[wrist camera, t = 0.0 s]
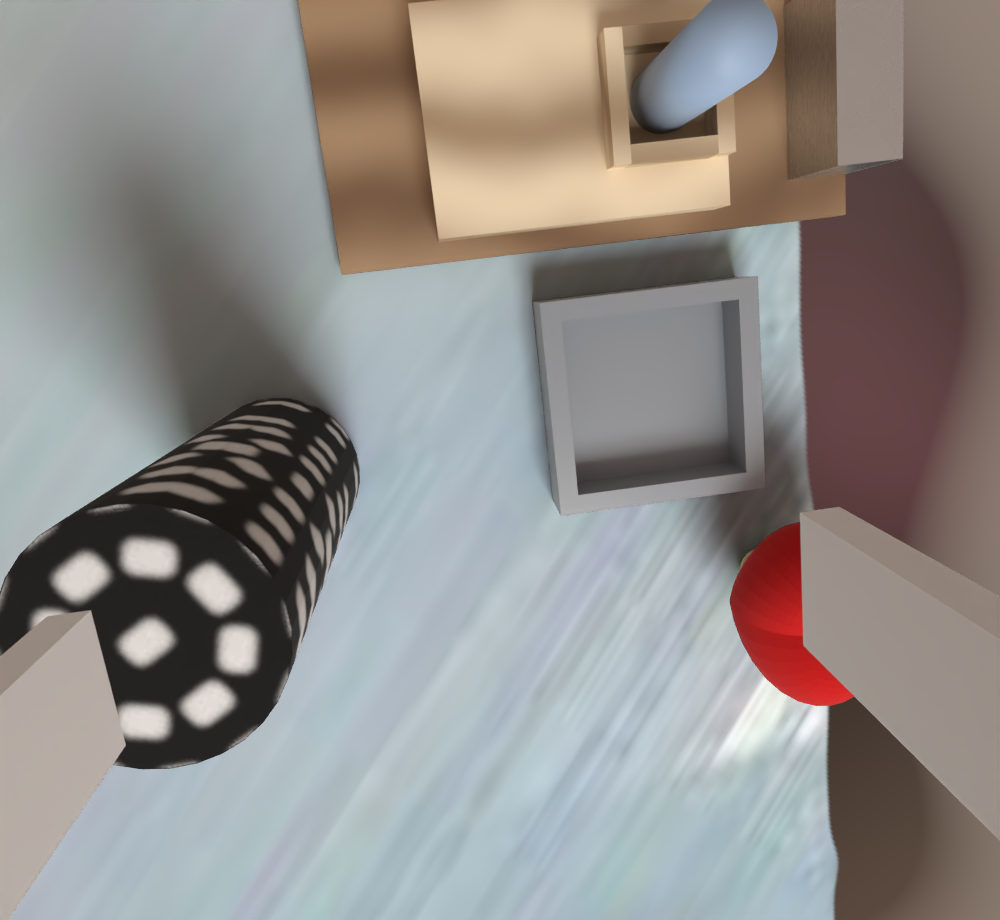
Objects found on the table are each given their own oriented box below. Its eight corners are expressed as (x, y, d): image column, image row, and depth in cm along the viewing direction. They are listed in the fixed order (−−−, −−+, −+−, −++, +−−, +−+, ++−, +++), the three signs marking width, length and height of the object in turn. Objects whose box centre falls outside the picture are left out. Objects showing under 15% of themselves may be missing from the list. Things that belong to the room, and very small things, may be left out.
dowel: (627, 67, 35) (690, -5, 26) (691, 60, 35) (776, -14, 26) (632, 137, 36) (695, 90, 27) (695, 130, 36) (778, 81, 27)
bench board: (288, -77, 36) (283, -89, 35) (829, -128, 37) (841, -142, 36) (344, 274, 39) (341, 274, 38) (833, 216, 41) (845, 214, 40)
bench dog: (783, 6, 37) (835, -35, 32) (843, 0, 37) (903, -42, 32) (788, 180, 39) (838, 166, 34) (845, 173, 39) (903, 158, 34)
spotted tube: (290, 366, 40) (152, 443, 21) (391, 485, 42) (351, 658, 23) (170, 462, 41) (-72, 624, 22) (274, 575, 43) (139, 818, 23)
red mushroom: (693, 494, 44) (766, 555, 34) (813, 479, 44) (919, 535, 34) (700, 643, 46) (771, 740, 36) (814, 628, 46) (914, 720, 36)
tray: (532, 301, 41) (539, 303, 38) (735, 276, 41) (757, 276, 38) (552, 500, 43) (561, 515, 40) (743, 474, 44) (765, 488, 41)
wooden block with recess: (410, 22, 36) (406, -10, 32) (701, -8, 37) (732, -42, 33) (438, 242, 38) (438, 237, 34) (712, 209, 39) (742, 201, 35)
